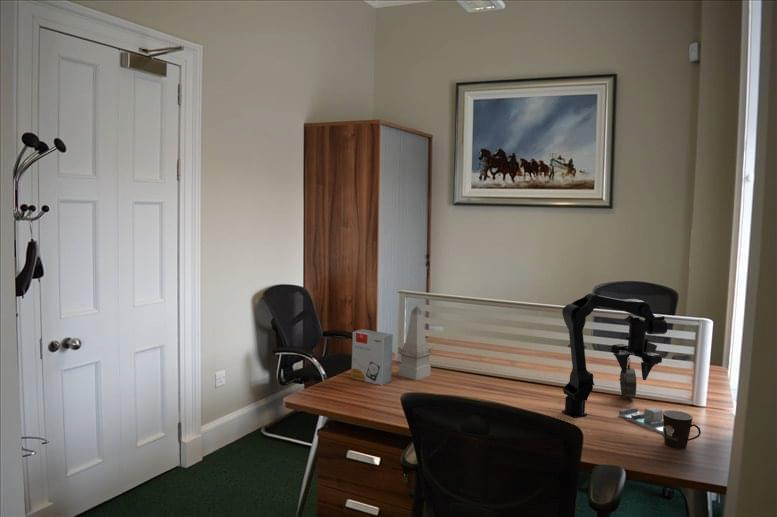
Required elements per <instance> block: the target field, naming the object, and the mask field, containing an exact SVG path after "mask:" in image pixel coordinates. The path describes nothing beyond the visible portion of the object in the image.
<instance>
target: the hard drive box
mask: <svg viewBox="0 0 777 517" xmlns="http://www.w3.org/2000/svg"><path fill="white" fill-rule="evenodd" d="M351 334H352V337H351V338H352V339H351V340H352V341H351V366H350V367H351V371H350V372H351V374H350V378H351V379H354V380H357V381H361V382H366V383H370V384H373V385H379V386H384V385H385V384H388V383H390V382H392V367H393V366H392V363H393V361H392V360H393V336H394V335H393V334H391V333H387V332H382V331H376V330H369V329H364V328H361V329H358V330H354V331H352V333H351Z"/></svg>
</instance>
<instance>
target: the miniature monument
mask: <svg viewBox="0 0 777 517" xmlns="http://www.w3.org/2000/svg"><path fill="white" fill-rule="evenodd" d="M407 327H408V328H407V333H406V338H405V339H406V340H405V342H404V343H403V345H402V347H399V346H398V347H397V350H398V351H397V353H398V354H399V355H401V360H400V364H399V365H398V376H400V377H405V378H407V379H411V380H415V381H418V380H421V379H424V378H427V377H429V376H431V372H432V371H431V369H432V367H431V366H432V365H431V364H430V356H431V355H432V354H434V347H429V346H428V343H427V339H426V332H425V324H424V316H423V310H422V309H421V308H420V307H419V306H415V307H414V308H413V309H412V310H411V311H410V317H409V323H408V326H407Z"/></svg>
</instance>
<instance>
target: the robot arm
mask: <svg viewBox="0 0 777 517" xmlns="http://www.w3.org/2000/svg"><path fill="white" fill-rule="evenodd" d="M596 307H601V308H607V309H612V310H618V311H623V312H625V313H628V314H629V315H628V316H627V317H625V318H624V319H623V321H624V322H625V323H628V336H625V340H627V344H624V343H615V344H612V346H611V347H610V352H611V353H613V356H614V357H615V358H616V361H617V362H618V365H619V367H620V369H621V370H622V372H623V373H624V374H625V373H626V370H627V368H628V366H627V365H628V361H629V360H628V358H630V356H635V357H638V358H641V362H640V367H641V376H642V377H641V378H642V380H643V381H646V380H647V378H648V377H649V374H650V372H651V371H652V369H653V367H654V366H655V365H658V364H662V362H663V357H662V355H661V354H659V353H656V350H657V347H658V345H657V344H654V343H651V342H649V338H648V337H646V334H647V335H666V334H667V333H668V328H669V327H668V322H667V321H666V320H665V315H662V314H660V315H659V314H658V315H654V313H653V312H652V310H651V305H650V303H649V302H647V301H644V300H641V299H637V298H627V299H626V298H625V299H621V298H620V299H619V298H615V297H609V296H605V295H599V294H596V293H592V292H591V293H587V294H586V295H585V296H583V297H581V298H579V299H576V300H574V301H573V302H571V303H569V304H566V305H565V306H564V307H563V308H562V311H561V312H562V318H563V320H564V323H565V325H566V327H567V330H568V334H569V335H568V337H569V345H570V353H571V354H570V356H571V365H572V367H571V369H572V370H571V371H570V374H569V381H568V383H567V384H565V386H563V387H562V391H563V394H564V395H566V396H565V400H564V401H565V403H564V409H563V410H561V413H563V414H566V415H567V416H569V417H571V418H579V417H584V416H587V415H588V413H587V412H585V410H586V401H588V399H589V396H590V394H591V393H592V391H593V389H594V386H595V382H594V373H592V372H590V371H588V370H587V362H586V351H585V341H584V340H585V339H584V332H583V331H584V329H585V328H584V327H585V325H586V319H587V317H588V316H589V315H591V313H593V311H594V310H595V308H596ZM632 315H633V316H632ZM634 316H636V317H634Z"/></svg>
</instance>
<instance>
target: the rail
mask: <svg viewBox="0 0 777 517" xmlns="http://www.w3.org/2000/svg"><path fill="white" fill-rule="evenodd" d="M638 409H639V408H637V407H631V408H625V409H620V410H619V411H618V417H619V418H623V419H624V418H625V419H624V420H627V421H630V422H632V423H634V424H637V425H640V426H642V427H643V428H646V429H648V430H651V431H653V432H655V433H658V434H661V435H662V436H664V423H663V419H662V420H661V421H656V422H649V421H647V420H645V419H644V417H641V416H643V414H644V412H641V411H639V410H638Z"/></svg>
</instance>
